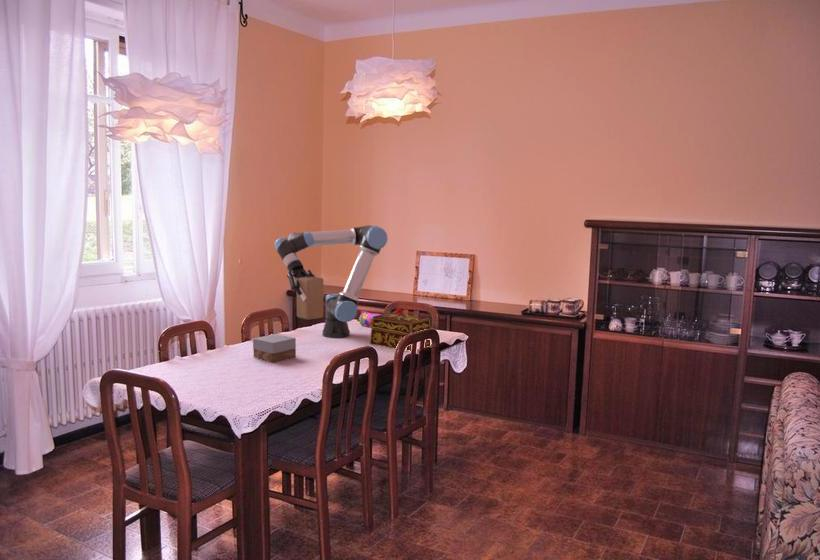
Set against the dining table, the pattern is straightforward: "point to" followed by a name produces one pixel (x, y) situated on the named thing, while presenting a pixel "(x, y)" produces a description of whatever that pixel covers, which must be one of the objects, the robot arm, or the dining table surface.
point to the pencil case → (366, 318)
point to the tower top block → (274, 343)
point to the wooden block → (310, 298)
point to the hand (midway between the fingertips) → (313, 298)
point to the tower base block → (275, 355)
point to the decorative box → (396, 328)
